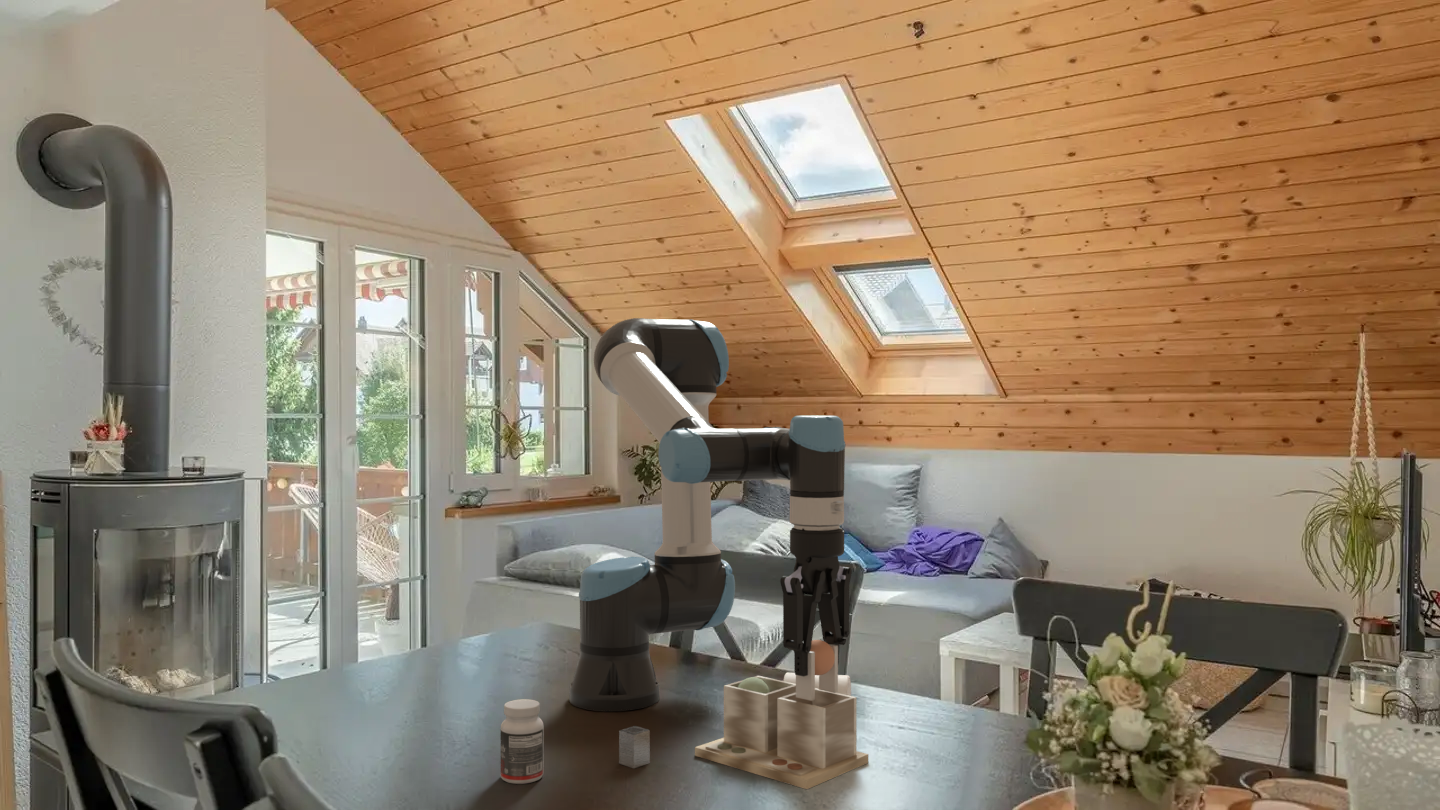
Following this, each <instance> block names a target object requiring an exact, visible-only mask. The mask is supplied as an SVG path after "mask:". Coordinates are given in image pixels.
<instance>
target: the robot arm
mask: <svg viewBox="0 0 1440 810" xmlns="http://www.w3.org/2000/svg"><path fill="white" fill-rule="evenodd" d="M719 329H720V328H718V327H717V326H716V325H714V324H713V323H711V322H709V321H702V320H694V319H677V318H675V319H672V318H671V319H670V318H669V319H667V318H665V319H664V318H639V317H638V318H637V317H635V318H634V317H633V318H629V319H628V318H627V319H624V320H621V321H619V322H617V323H615V324H613V325H612V326H611V327H609V328H608V329H607V330H605V332H604V333H603V334H602V335H601V337H600V338H599V340H598V342H597V343H596V346H595V349H594V352H593V353H594V354H593V366H594V371H595V374H596V375H597V378H598V380H599V381H600V382H601V384H602V385H603V386H604V387H605V388H606V390H608V391H609V392H610V393H612V394H614V395H617V396H620V397H621V398H622V399H623V400H624V402H625V403H626V404H627V405H628V407H629V408H630V409H631V411H632V412H634V414H635V415H636V416H637V417H638V418H639V420H640V421H641V422H642V423H643V425H644V426H645V427H646V428H647V430H648V431H649V432H650V433H651V434H652V436H653V437H654V438H655V439H656V440H657V441H658V443H659V445H658V463H659V466H660V473H661V475H660V476H661V477H660V478H661V479H660V480H661V482H660V483H661V507H662V508H661V515H662V516H661V519H662V522H661V523H662V543H661V545H660V546H659V548H658V549H657V550H655V552H654V564H650V562H649V560H648V559H647V558H645V557H641V556H630V557H629V556H628V557H616V558H610V559H606V560H601V561H598V562H595V563H592V564H591V565H589V566H587V567H586V568H584V570H583V571H582V573H581V575H580V582H579V583H580V584H579V593H578V599H579V656H578V657H579V658H578V659H577V664H576V668H575V671H574V676H573V680H572V682H571V683H570V685H569V702H570V704H571V705H573V706H574V707H576V708H579V709H584V710H589V711H596V712H625V711H632V710H639V709H643V708H647V707H650V706H652V705H654V704H657V702H659V701H660V683H659V681H658V680H657V677H656V671H655V668H654V665H653V661H652V657H651V655H650V635H656V634H663V633H664V634H666V633H672V632H673V633H674V632H682V631H690V630H692V631H693V630H694V631H702V630H704V629H709V628H713V627H718V626H720V625H721V624H723V623H724V622H725V620H727V618H728V616H729V615H730V613H731V610H732V609H733V605H734V601H735V597H736V596H735V595H736V594H735V593H736V581H735V579H736V578H735V575H734V574H733V568H732V567H731V565H730V563H728V562H727V561H726V560H724V559H722V550H720V549H719V547H717V546H716V544H714V542H713V536H712V499H711V498H712V497H711V495H712V493H711V483H712V482H713V483H714V482H715V483H717V482H718V483H719V482H733V481H734V482H735V481H736V482H739V481H741V482H742V481H768V480H772V481H773V480H781V481H789V523H790V524H791V525H793V527H792V528H791V529H790V530H789V552H790V553H791V555H793V556H794V558H795V563H794V564H795V565H794V568H793V572H792V573H791V574H790V575H789V576H787V575H783V576H781V577H780V580H779V582H780V586H781V590H782V599H783V600H782V604H783V606H782V608H783V609H782V615H783V616H782V621H783V622H782V624H783V627H782V628H783V629H782V630H783V631H782V636H783V642H782V643H783V647H784V649H787V650H791V651H793V653H794V655H793V656H794V657H793V658H794V659H793V660H794V661H793V662H794V667H793V669H794V672H793V673H795V675H796V697H797V698H802V699H806V700H810V701H812V700H815V652H812V651H810V650H811V644H812V640H813V636H814V629H815V627H814V626H815V621H816V614H817V607H818V614H819V621H820V628H821V629H820V630H821V635H822V641H824V642H826V643H828V644H829V645H830V646H831V648H832V649H833V651H834V655H835V661H834V664H833V667H832V668H831V669H830V670H829V671H828V672H827V673H825V674H823V675H819V690H823V691H828V692H832V693H836V692H838V675H839V663H840V658H839V657H840V656H839V655H840V645H842V646H844V645H845V644H846V643H847V639H846V638H848V637H849V636H850V635H849V634H850V583H851V579H852V578H851V577H852V572H853V571H852V570H853V569H852V567H847V566H841V564H840V561H839V558H838V557H841V556H842V555H844V554H845V530H844V529H843V528H842V527H840V526H842V525H843V524H844V523H845V505H844V504H845V501H844V500H845V499H844V495H845V469H846V468H845V461H846V460H845V457H846V455H845V454H846V451H845V450H846V441H845V432H844V428H845V427H844V421H843V420H842V418H840V417H839V416H838V415H795V416H793V417H792V418H791V420H790V424H789V428H785V427H781V426H766V427H763V428H762V427H761V428H760V427H759V428H753V427H752V428H715V427H714V425H712V424H711V423H710V422H709V421H710V419H709V405H710V403H711V402H712V401H713V400H714V399H715V398H716V396H717V387H719V386H722V385H723V384H724V382H725V381H726V379H727V377H728V372H729V368H730V366H729V365H730V360H729V359H730V357H729V350H728V346H727V343H726V341H725V340H726V339H725V338H724V336H723V334H722V333H721V331H720V330H719Z"/></svg>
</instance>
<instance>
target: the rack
mask: <svg viewBox="0 0 1440 810" xmlns="http://www.w3.org/2000/svg"><path fill="white" fill-rule="evenodd" d="M754 677H756V678H759V679H761V680H763V681H764V682H765V683H766V685H767V686H768V688H769V693H766V694H763V693H759V692H755V691H750V690H746V689H742V688H738V686H739V684H740V683H741V682H742V681H743V680H744V679H741V680H739V681H735V682H732V683H729V684H726V685H723V737H721V738H718V739H716V740H712V741H710V742H706V743H703V744H700V745H697V746H695V747H694V757H698V758H702V759H704V760H708V761H712V762H715V763H718V764H721V765H725V766H728V767H731V768H735V769H737V770H741V771H744V772H748V773H751V774H755V775H757V776H758V775H759V776H762V777H765V778H769V779H772V780H774V781H777V782H781V783H784V784H787V785H791V786H795V787H797V788H802V789H804V790H809V789H811V788H813V787H816V786H818V785H820V784H823V783H826V782H827V781H829V780H832V779H835V778H836V777H839V776H841V775H843V774H845V773H848V772H851V771H853V770H855V769H857V768H860V767H862V766H864V765H867V764H868V763H869V753H865V752H862V751H858V750H857V702H858V701H857V696H854V695H851V696H849V695H844V694H840V693H832V692H828V691H823V690H819V689H817V688H815V700H812V701H810V700H806V699H802V698H797V697H796V684H794V683H790V682H785V681H783V680H779V679H776V678H770V677H766V676H761V675H756V676H754Z"/></svg>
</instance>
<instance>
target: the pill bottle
mask: <svg viewBox="0 0 1440 810" xmlns="http://www.w3.org/2000/svg"><path fill="white" fill-rule="evenodd" d="M503 709H504V710H503V714H504V715H505V719H504V720H503V721H502V723H501V725H500V736H499V737H500V778H501V779H502V780H503V781H504V782H506V783H509V784H513V785H516V784H517V785H523V784H530V783H534V782H536V781H539V780H540V779H541V778H543V776H544V772H545V771H544V770H545V766H544V764H545V763H544V761H545V760H544V759H545V756H544V755H545V751H544V745H545V744H544V743H545V742H544V741H545V740H544V737H545V736H544V735H545V732H544V730H545V728H544V722H543V720H542V719H541V718H540V716H539V713H540V712H541V711H540V702H539V701H537V700H535V699H528V698H524V699H523V698H522V699H521V698H519V699H514V700H510V701H507V702H505V703H504V706H503Z"/></svg>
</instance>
